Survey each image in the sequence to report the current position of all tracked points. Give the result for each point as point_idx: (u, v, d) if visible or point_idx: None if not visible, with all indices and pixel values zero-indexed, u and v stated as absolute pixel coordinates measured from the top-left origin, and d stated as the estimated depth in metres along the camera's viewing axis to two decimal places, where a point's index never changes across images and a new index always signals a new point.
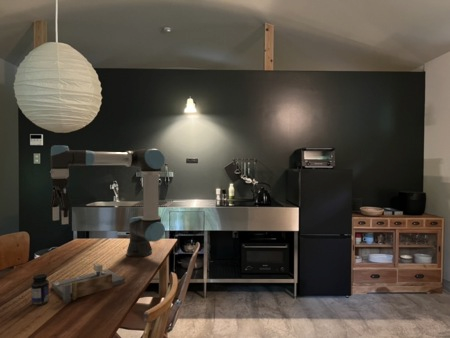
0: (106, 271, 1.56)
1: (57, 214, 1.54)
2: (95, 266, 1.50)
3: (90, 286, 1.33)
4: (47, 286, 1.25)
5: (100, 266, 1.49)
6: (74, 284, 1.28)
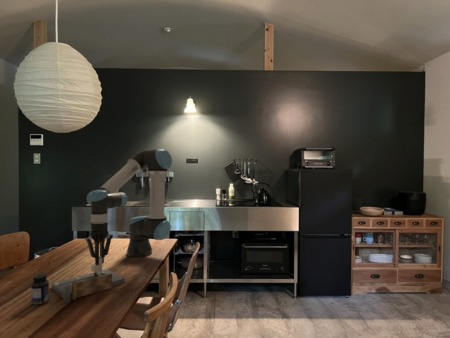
0: (106, 271, 1.56)
1: (100, 265, 1.50)
2: (92, 267, 1.49)
3: (90, 286, 1.33)
4: (47, 286, 1.25)
5: (97, 267, 1.48)
6: (74, 284, 1.28)
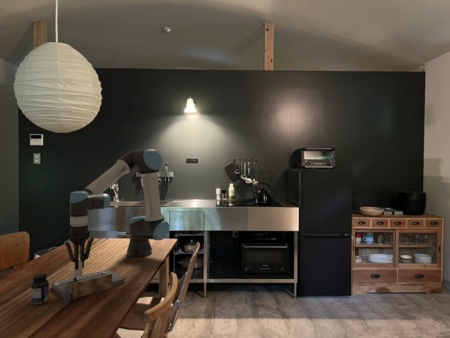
0: (106, 271, 1.56)
1: None
2: (72, 271, 1.42)
3: (90, 286, 1.33)
4: (47, 286, 1.25)
5: (77, 271, 1.42)
6: (74, 284, 1.28)
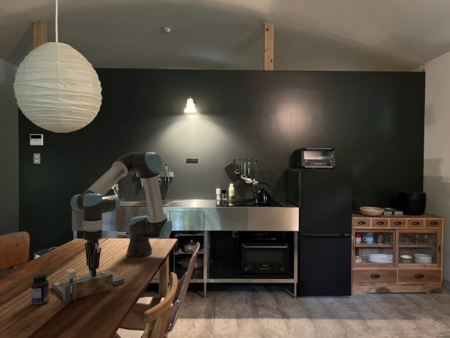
0: (106, 271, 1.56)
1: None
2: (68, 272, 1.41)
3: (90, 286, 1.32)
4: (47, 286, 1.25)
5: (73, 272, 1.40)
6: (74, 284, 1.28)
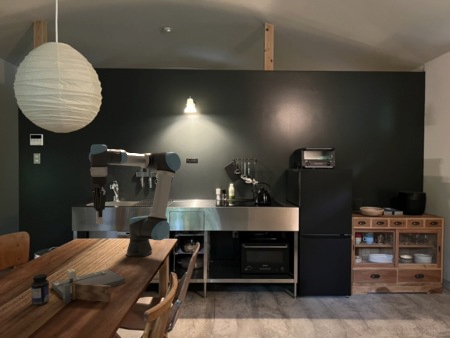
0: (106, 271, 1.56)
1: None
2: (68, 272, 1.41)
3: (87, 291, 1.27)
4: (47, 286, 1.25)
5: (73, 272, 1.40)
6: (72, 284, 1.28)
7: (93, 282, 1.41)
